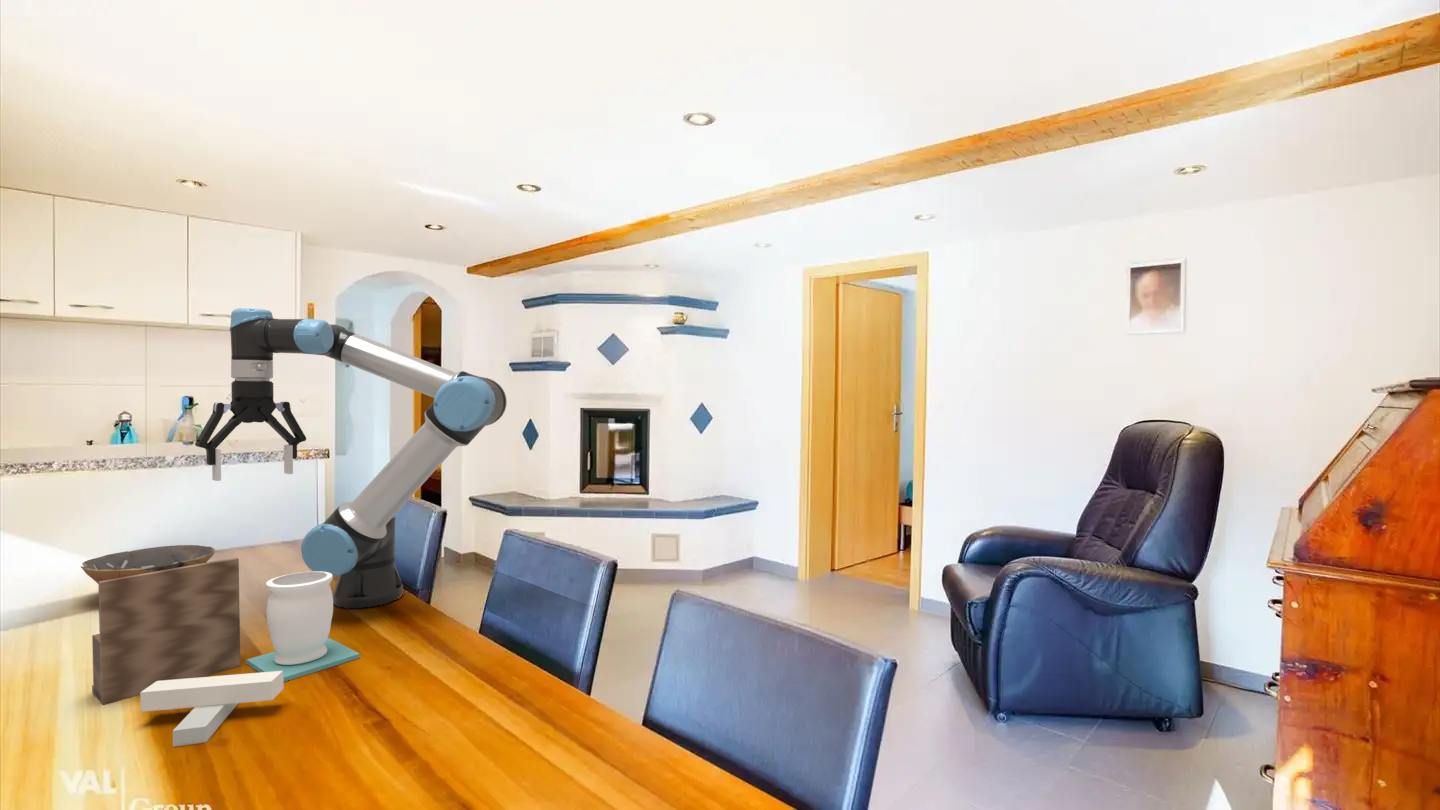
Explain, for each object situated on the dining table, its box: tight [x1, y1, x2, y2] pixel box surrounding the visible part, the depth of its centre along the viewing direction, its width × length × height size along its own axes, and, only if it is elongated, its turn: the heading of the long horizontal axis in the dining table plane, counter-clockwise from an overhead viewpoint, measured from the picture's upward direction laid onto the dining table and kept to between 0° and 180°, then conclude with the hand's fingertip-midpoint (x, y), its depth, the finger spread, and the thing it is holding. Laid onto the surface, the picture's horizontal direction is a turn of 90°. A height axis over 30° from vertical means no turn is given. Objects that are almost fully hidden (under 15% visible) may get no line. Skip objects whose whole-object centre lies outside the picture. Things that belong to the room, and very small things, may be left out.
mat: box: [246, 637, 361, 683], centre depth 125 cm, size 14×14×1 cm
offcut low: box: [172, 703, 239, 747], centre depth 105 cm, size 18×4×3 cm, turn 18°
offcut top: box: [139, 671, 285, 713], centre depth 105 cm, size 18×4×3 cm, turn 101°
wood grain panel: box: [91, 557, 241, 706], centre depth 117 cm, size 19×7×20 cm, turn 144°
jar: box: [265, 570, 334, 665], centre depth 125 cm, size 11×10×15 cm
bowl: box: [80, 544, 216, 584], centre depth 163 cm, size 25×25×10 cm
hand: (254, 477), depth 146 cm, fingers open, 13 cm apart
